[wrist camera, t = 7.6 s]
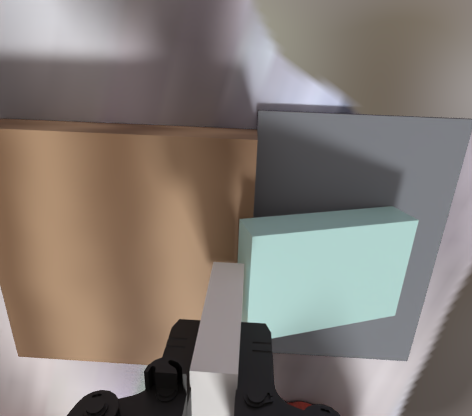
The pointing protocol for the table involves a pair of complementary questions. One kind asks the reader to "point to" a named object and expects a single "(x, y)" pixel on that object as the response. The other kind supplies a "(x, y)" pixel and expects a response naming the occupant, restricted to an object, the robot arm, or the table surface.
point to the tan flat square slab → (115, 231)
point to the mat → (363, 201)
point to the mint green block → (324, 267)
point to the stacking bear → (300, 405)
